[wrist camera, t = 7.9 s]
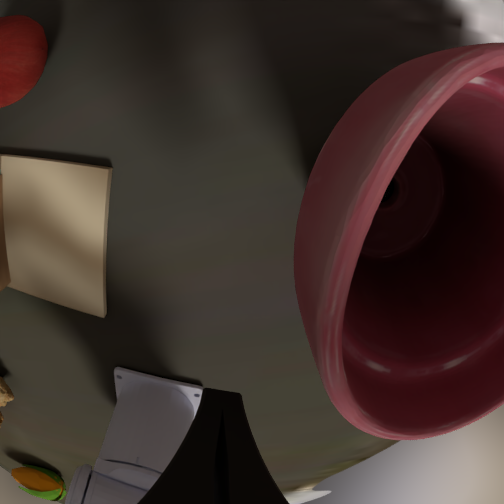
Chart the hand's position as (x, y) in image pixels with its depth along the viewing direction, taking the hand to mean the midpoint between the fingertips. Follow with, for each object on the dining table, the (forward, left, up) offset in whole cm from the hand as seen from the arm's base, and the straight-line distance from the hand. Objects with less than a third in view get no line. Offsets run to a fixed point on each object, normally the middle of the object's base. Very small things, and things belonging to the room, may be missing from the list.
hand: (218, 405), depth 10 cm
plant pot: (+8, -8, -11) cm, 16 cm away
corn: (-57, +31, -11) cm, 66 cm away
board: (0, +18, -10) cm, 21 cm away
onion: (+12, +16, -11) cm, 23 cm away
